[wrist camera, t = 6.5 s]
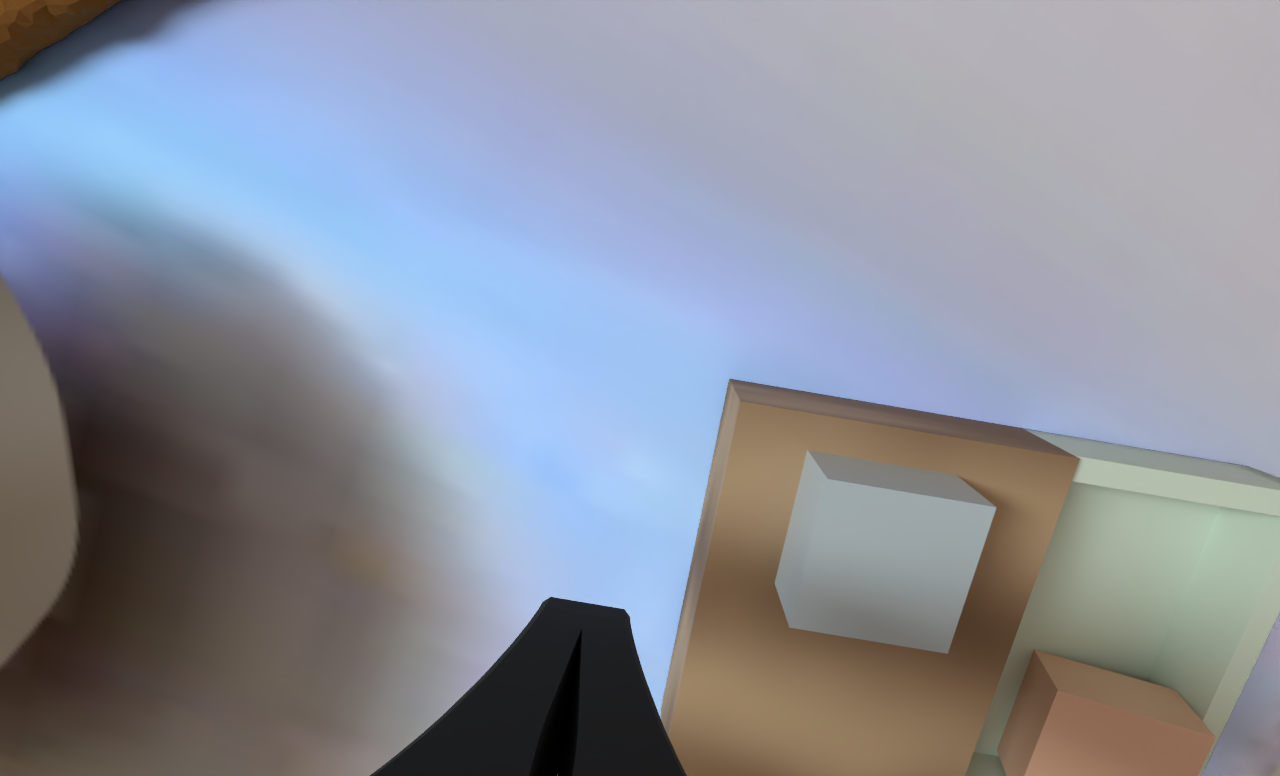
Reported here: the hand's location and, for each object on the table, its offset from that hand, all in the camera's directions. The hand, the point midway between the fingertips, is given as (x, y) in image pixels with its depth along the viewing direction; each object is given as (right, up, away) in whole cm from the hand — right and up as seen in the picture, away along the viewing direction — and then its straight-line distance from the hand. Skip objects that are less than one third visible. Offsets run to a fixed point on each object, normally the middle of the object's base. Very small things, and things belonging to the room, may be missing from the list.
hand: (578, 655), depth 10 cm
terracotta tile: (+15, -7, +8) cm, 18 cm away
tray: (+15, -3, +10) cm, 18 cm away
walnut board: (+7, -2, +10) cm, 12 cm away
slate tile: (+7, +1, +7) cm, 10 cm away
